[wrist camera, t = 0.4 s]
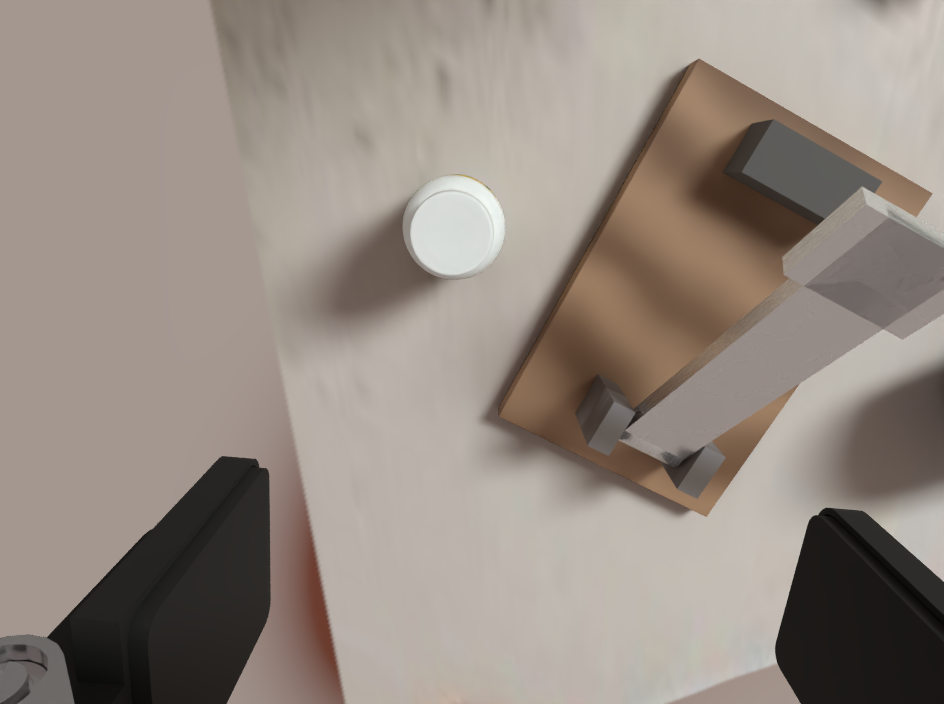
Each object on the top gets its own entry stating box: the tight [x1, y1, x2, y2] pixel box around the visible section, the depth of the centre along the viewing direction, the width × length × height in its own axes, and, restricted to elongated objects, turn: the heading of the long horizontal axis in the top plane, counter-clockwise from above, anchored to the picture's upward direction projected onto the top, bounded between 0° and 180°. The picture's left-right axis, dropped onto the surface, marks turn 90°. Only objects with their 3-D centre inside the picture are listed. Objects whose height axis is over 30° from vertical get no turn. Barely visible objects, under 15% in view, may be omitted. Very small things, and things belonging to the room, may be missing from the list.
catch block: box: [723, 119, 883, 225], centre depth 34 cm, size 3×7×3 cm, turn 63°
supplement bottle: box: [403, 175, 505, 280], centre depth 33 cm, size 5×5×10 cm
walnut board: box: [498, 59, 932, 517], centre depth 36 cm, size 24×16×6 cm, turn 153°
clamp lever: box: [619, 187, 944, 467], centre depth 30 cm, size 19×6×2 cm
